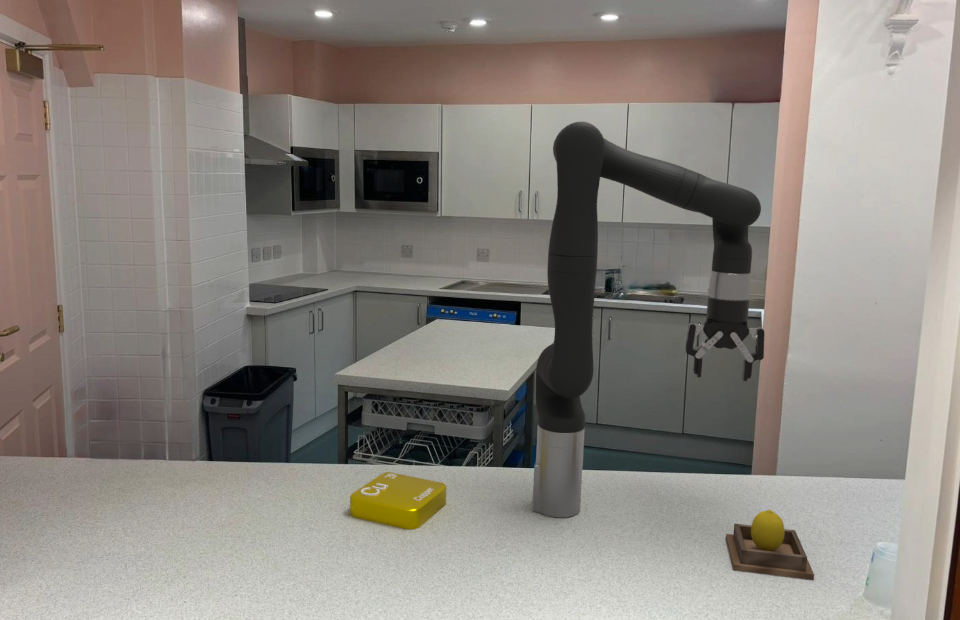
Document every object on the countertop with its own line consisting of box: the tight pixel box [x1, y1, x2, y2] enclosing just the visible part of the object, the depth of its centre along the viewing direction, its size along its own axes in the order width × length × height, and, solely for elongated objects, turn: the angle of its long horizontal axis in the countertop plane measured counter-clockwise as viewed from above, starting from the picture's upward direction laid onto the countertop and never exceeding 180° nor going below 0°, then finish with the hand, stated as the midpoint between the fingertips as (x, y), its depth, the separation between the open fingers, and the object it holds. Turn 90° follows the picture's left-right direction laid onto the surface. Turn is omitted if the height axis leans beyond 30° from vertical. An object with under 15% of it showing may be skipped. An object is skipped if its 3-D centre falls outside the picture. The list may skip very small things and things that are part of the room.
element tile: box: [349, 471, 447, 531], centre depth 152 cm, size 15×15×5 cm
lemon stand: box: [725, 522, 815, 581], centre depth 136 cm, size 13×12×4 cm
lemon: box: [751, 509, 785, 551], centre depth 136 cm, size 6×6×8 cm
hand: (721, 378), depth 149 cm, fingers open, 8 cm apart
